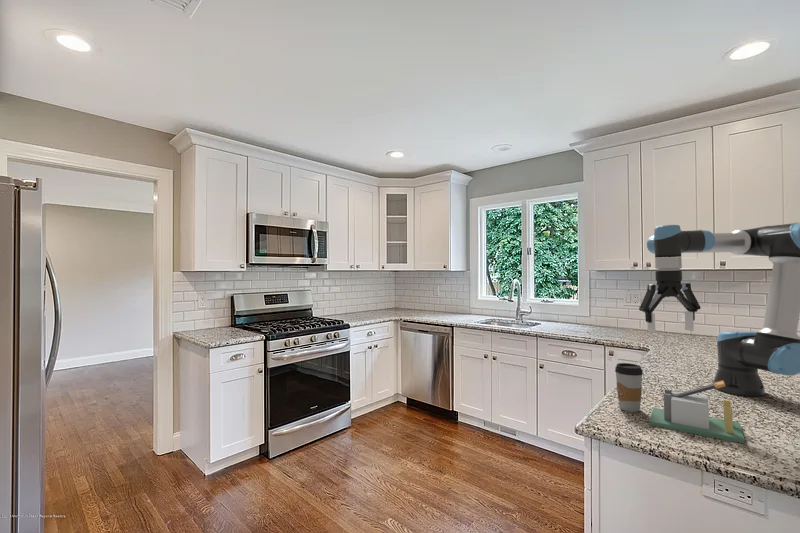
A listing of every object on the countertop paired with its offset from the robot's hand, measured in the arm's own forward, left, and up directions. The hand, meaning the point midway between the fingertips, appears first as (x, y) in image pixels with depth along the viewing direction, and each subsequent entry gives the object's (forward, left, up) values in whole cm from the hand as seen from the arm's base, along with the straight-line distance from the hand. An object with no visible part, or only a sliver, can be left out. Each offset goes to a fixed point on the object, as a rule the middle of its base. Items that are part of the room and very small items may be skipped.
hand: (670, 331), depth 131 cm
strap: (+1, +15, -17) cm, 22 cm away
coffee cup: (+14, +1, -27) cm, 31 cm away
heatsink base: (+1, +14, -27) cm, 30 cm away
